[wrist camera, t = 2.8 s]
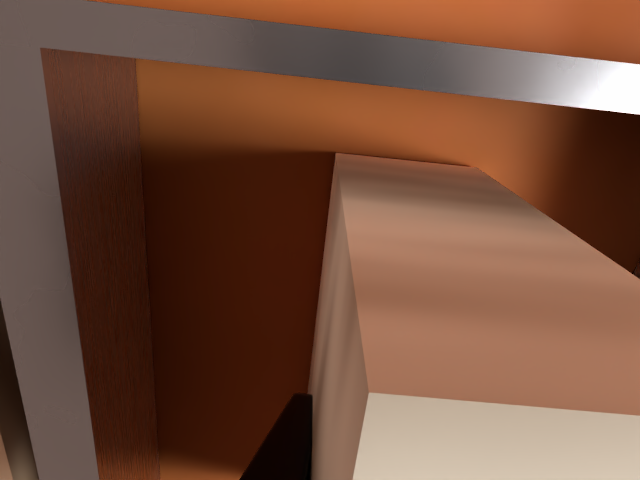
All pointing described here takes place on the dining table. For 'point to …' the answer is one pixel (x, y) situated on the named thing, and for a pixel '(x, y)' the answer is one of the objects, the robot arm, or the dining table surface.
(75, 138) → the rack
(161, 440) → the dining table surface
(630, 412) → the beige wooden block
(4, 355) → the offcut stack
